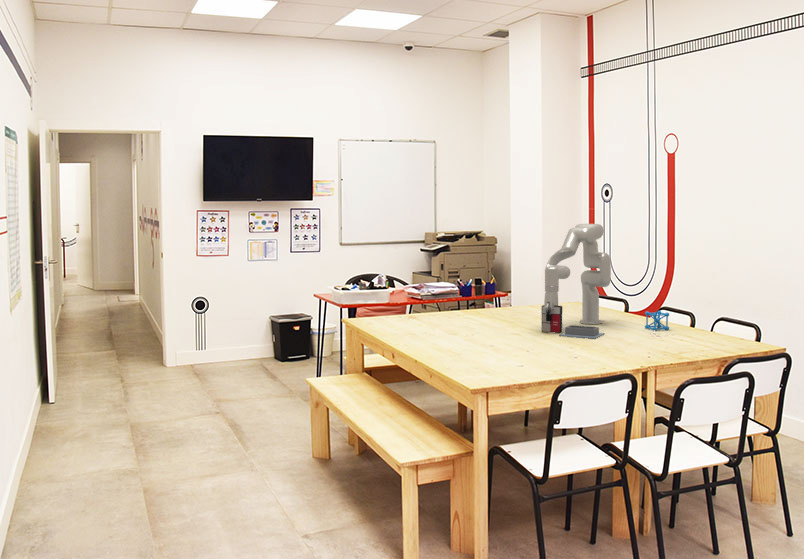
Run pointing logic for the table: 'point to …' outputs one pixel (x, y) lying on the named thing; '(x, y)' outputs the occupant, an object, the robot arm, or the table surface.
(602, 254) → the robot arm
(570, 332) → the desk holder
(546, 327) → the multicoloured piece
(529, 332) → the table surface
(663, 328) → the molecular structure
